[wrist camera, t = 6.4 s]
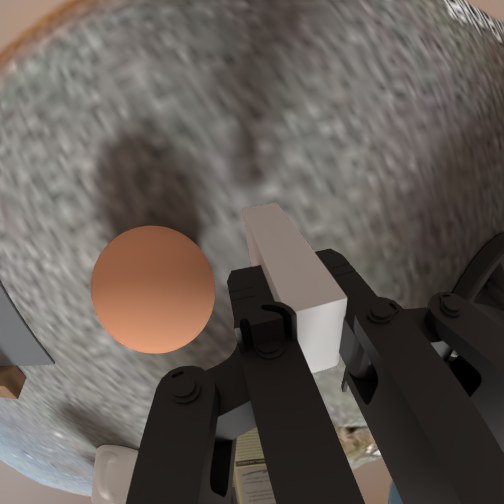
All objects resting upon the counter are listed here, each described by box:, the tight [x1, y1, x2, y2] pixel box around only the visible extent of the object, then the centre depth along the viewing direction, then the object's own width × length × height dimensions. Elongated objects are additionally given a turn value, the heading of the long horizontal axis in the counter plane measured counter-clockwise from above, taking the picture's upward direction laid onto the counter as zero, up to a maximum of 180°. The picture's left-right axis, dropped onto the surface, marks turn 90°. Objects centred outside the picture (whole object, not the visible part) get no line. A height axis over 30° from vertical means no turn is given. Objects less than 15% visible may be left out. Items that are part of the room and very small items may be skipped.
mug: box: [91, 445, 138, 504], centre depth 22 cm, size 12×8×10 cm
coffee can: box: [231, 427, 276, 504], centre depth 20 cm, size 10×10×14 cm
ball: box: [91, 225, 215, 353], centre depth 12 cm, size 6×6×6 cm
